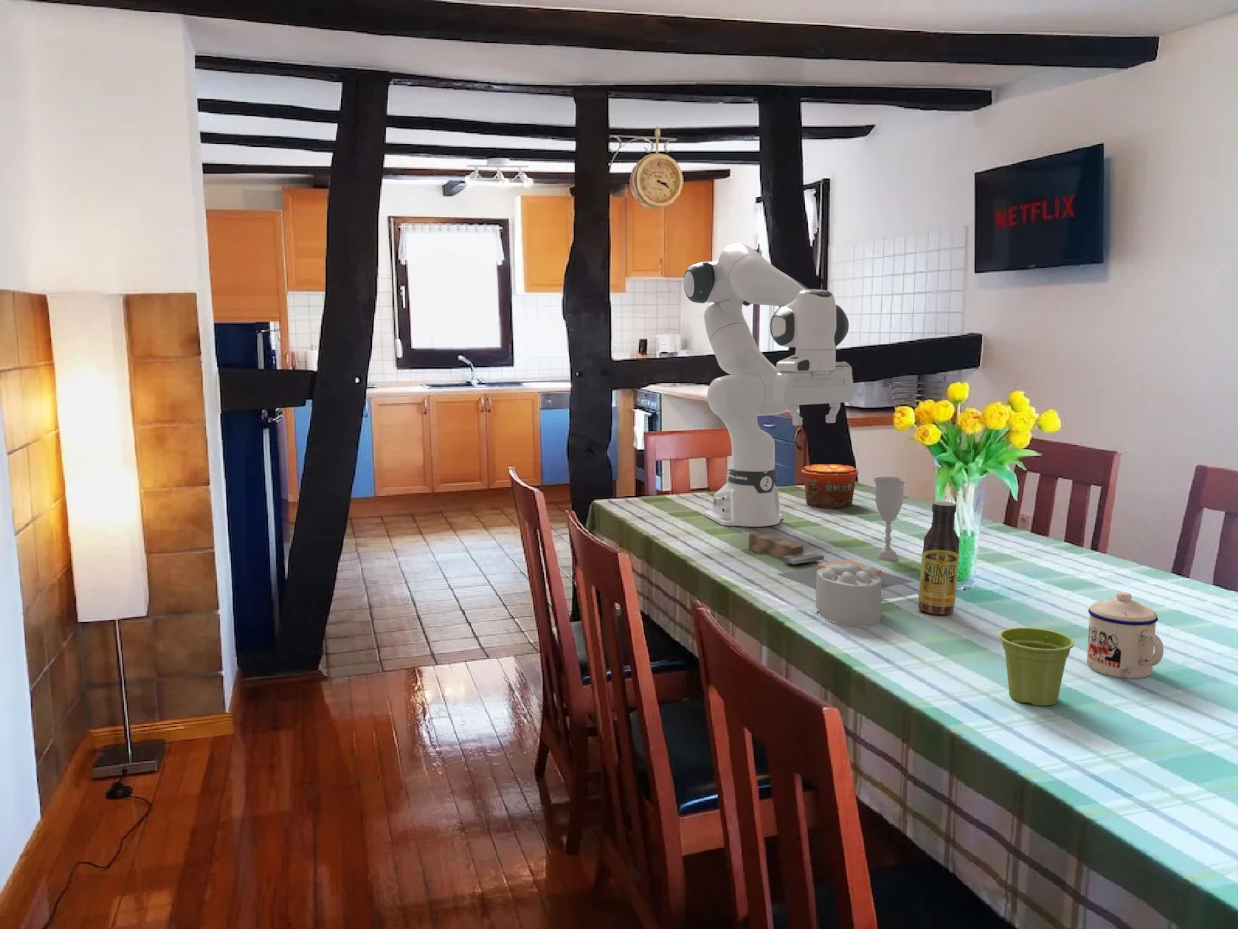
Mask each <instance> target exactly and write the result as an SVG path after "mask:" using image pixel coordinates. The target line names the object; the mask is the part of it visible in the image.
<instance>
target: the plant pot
mask: <svg viewBox="0 0 1238 929" xmlns="http://www.w3.org/2000/svg"><path fill="white" fill-rule="evenodd" d="M998 638H999V640H1000V641H1001V642H1002V648H1003V650H1004V654H1005V664H1006V666H1005V667H1006V673H1007V674H1006V675H1007V682H1008V685H1007V686H1008V693H1009V694H1008V695H1009V696H1010V698H1012V699H1013V700H1015V701H1017V702H1019V703H1023V704H1024V703H1029V704H1032V705H1033V706H1041V707H1042V706H1043V707H1044V706H1051V705H1052V706H1053V705H1055V704H1056V703H1057V701H1058V700H1059V696H1060V690H1061V687H1062V680H1063V677H1064V671H1065V666H1066V661H1067V658H1068V657H1069V656H1070V653H1071V652H1070V651H1071V649H1072V648H1074V646H1075V642H1074V639H1073V638H1071V637H1070V636H1068V635H1066V634H1064V633H1061V632H1057V631H1055V630H1050V629H1045V628H1036V627H1009V628H1007V629H1006V628H1005V629H1003V630H1001V631H1000V632H999V633H998Z"/></svg>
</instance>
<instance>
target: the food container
mask: <svg viewBox="0 0 1238 929" xmlns="http://www.w3.org/2000/svg"><path fill="white" fill-rule="evenodd" d="M800 471H801V472H800V474H801V475H803V483H804V484H803V485H804V492H805V502H806V504H807V505H808V506H809V507H814V508H822V509H844V508H848V507H851V506H852V505H853V499H854V493H855V486H856V481H857V480H856V479H857V475H859V471H858V469H857V468H856V467H854V466H851V465H843V464H835V463H833V464H832V463H830V464H822V463H821V464H819V463H817V464H811V465H805V466H804V467H803V468H802V469H801V470H800Z"/></svg>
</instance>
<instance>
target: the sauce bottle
mask: <svg viewBox="0 0 1238 929" xmlns="http://www.w3.org/2000/svg"><path fill="white" fill-rule="evenodd" d="M931 511H932V521H931V526H930V528H929V530H928V531H927V533H925V535H924V537H923V549H922V553H921V561H920V562H921V563H920V575H919V576H920V577H919V578H920V579H919V588H918V589H919V590H918V601H919V602H918V609H919V611H922V612H924V613H927V614H930V615H935V616H937V615H938V616H940V615H941V616H944V615H945V616H947V614H948V615H951V614H952V613H953V612H954V609H955V604H956V593H957V584H958V582H957V581H958V572H959V562H960V561H959V558H960V554H959V553H960V537H959V536H958V534H957V533H956V531H955V519H956V518H955V517H956V516H955V515H956V513H957V504H956V503H954V502H949V501H933V502H932V506H931Z"/></svg>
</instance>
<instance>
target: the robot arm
mask: <svg viewBox="0 0 1238 929" xmlns="http://www.w3.org/2000/svg"><path fill="white" fill-rule="evenodd" d="M683 290H684V293H685V296H686V297H687V298H688V300H689V301H691V302H692V303H695V304H706V303H710V304H709V305H707V307H706V308H705V310H704V313H703V320H704V326H705V330H706V335H707V338H708V342H709V343H710V346H711V349H712V351H713V354H714V356H715V358H716V361H717V364H718V366H719V367H720V369H721V370H722V371H724V372H725V373H727V374H729V375H727V374H726V375H724V376H719V377H717V378H714V379H713V380H712V381H711V383H710V384H709V386H708V389H707V395H706V400H707V404H708V406H709V408H710V410H711V412H713V413H714V415H716V416H717V417H718V418H719V419H720V420H721V421H722V422H723V424H724V425H725V427H726V429H727V431H728V434H729V437H730V443H731V444H730V445H731V468H730V469H726V471H727V472H726V475H728V477H727V482H725V484H724V485H723V486H722V487H721V488H720V489H719V490H717V492H715V493H714V494H713V498H712V509H708V510H705V511H703V516H705V517H706V518H709V519H710V520H712V521H714V522H716V523H718V524H719V525H720V526H721V525H722V526H728V527H729V526H731V527H732V526H733V527H734V526H735V527H739V526H740V527H750V528H751V527H752V528H753V527H755V528H756V527H769V526H775V525H778V524H780V523H781V520H782V519H783V518H784V517H783V514H782V513H780V512H781V511H780V497H779V489H778V487H776V485H775V483H776V482H777V468H775V462H776V461H775V457H776V456H775V454H776V452H775V450H776V449H775V447H776V446H775V444H776V443H775V440H774V438H773V437H772V435H771V434H769V433H768V432H766V431H765V430H763V429H761V427H760V425H759V423H758V417H760V416H762V417H763V416H777V415H781V414H785V413H787V412H789V414H790V416H791V418H792V425H793V426H802V425H803V420H804V419H803V417H801V416H800V415H799V413H798V411H799V410H800V406H804V405H822V404H829V408H830V409H829V412H828V414H826V415H825V422H826V424H835V423H836V419H837V414H838V413H839V411H840V409H841V403H851V402H852V401H853V400H854V396H855V390H854V389H855V388H854V379H853V369H852V366H851V364H850V363H848V362H847V361H836V360H837V359H836V356H837V354H836V353H837V351H836V350H837V349H836V348H837V347H838V346H839V345H840V344H841V343H842V342H843V341H844V340H845V338H846V336H847V334H848V333H849V328H850V323H849V319H848V316H847V314H846V313H845V311H844V310H843V308H842V307H841V306H840V305H838V304H836V301H835V296H834V294H833V293H832V292H831V291H828V290H825V289H817V288H808V286H806V285H804V284H803V283H801V282H799V281H798V280H796V279H795V278H793V277H791V276H789V275H788V274H786V273H785V272H782V271H781V270H779V269H778V268H776V267H775V266H774V264H771V263H770V262H769V261H768V260H767V259H766V258H764V256H763V255H761V254H760V253H759V252H758V251H756V250H755V249H754V248H752V247H750V246H749V245H747V244H745V243H740V242H735V243H731V244H729V245H727V246H726V247H724V249H722V251H721V252H720V255H719V258H718V260H712V261H701V262H698V263H694V264H692V265H690V266H689V267H688V268H687V269H686V270H685V272H684V275H683ZM751 305H759V306H760V305H761V306H773V307H778V308H777V309H776V310H775V311H774V312H773V314H772V316H771V318H770V324H769V331H770V335H771V337H772V339H773V341H774V342H775V343H776V344H777V345H778V346H780V347H783V348H784V347H785V348H795V353H794V354H793V355H790V356H789V357H785V358H783V359H781V360H779V361H777V362H776V366H775V365H774V364H773V363H772V362H770V361H769V359H768V358H767V357H766V356H765V355H764V354H763V353H762V351H760V349H759V347H758V345H757V342H756V341H755V339H754V336H753V334H752V331H751V330H750V327H749V325H748V323H747V321H746V318H745V316H744V314H743V306H745V307H749V306H751Z"/></svg>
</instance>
